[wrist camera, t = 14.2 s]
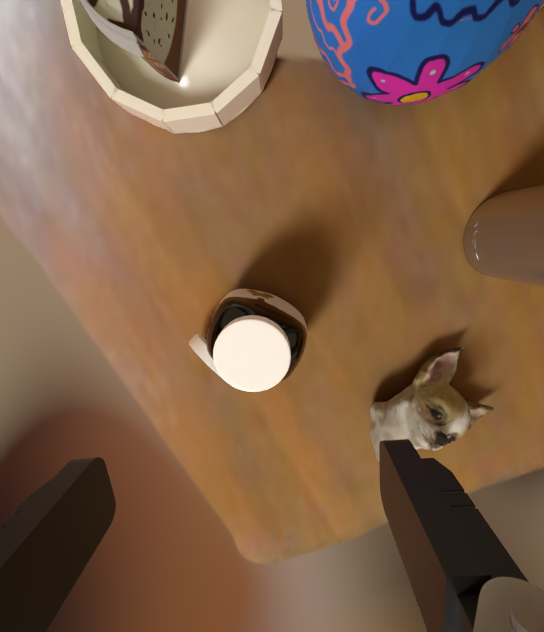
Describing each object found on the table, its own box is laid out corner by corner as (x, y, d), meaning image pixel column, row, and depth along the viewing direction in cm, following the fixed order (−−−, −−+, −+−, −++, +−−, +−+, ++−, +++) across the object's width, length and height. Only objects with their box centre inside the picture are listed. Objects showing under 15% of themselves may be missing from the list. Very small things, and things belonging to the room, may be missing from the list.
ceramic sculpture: (360, 435, 32) (496, 361, 31) (340, 394, 41) (446, 335, 39) (406, 508, 34) (535, 442, 33) (378, 455, 43) (480, 401, 41)
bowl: (267, -117, 28) (264, -179, 24) (289, 119, 33) (290, 102, 29) (66, -77, 30) (30, -129, 25) (115, 145, 34) (91, 132, 30)
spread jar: (311, 307, 38) (322, 338, 27) (277, 386, 41) (274, 444, 30) (217, 270, 37) (188, 286, 26) (189, 354, 40) (152, 401, 29)
